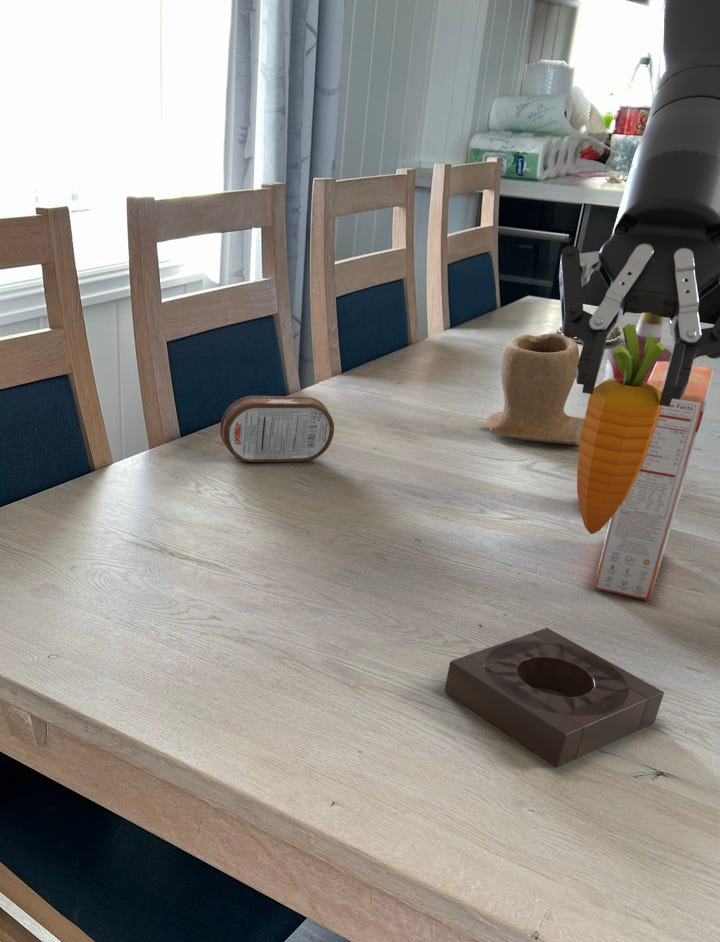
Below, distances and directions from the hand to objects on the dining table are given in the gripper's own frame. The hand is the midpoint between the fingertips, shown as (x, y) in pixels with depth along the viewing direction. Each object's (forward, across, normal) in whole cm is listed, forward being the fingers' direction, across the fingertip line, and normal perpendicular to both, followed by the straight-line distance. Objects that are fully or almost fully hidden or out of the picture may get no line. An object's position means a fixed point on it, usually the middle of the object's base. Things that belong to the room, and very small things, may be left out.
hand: (627, 392), depth 66 cm
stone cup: (-34, -11, +72) cm, 81 cm away
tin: (-14, -41, +52) cm, 67 cm away
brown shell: (-91, -12, +129) cm, 159 cm away
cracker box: (-5, +4, +42) cm, 43 cm away
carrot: (+7, 0, +9) cm, 11 cm away
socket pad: (+18, 0, +20) cm, 26 cm away
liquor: (-17, 0, +55) cm, 58 cm away
